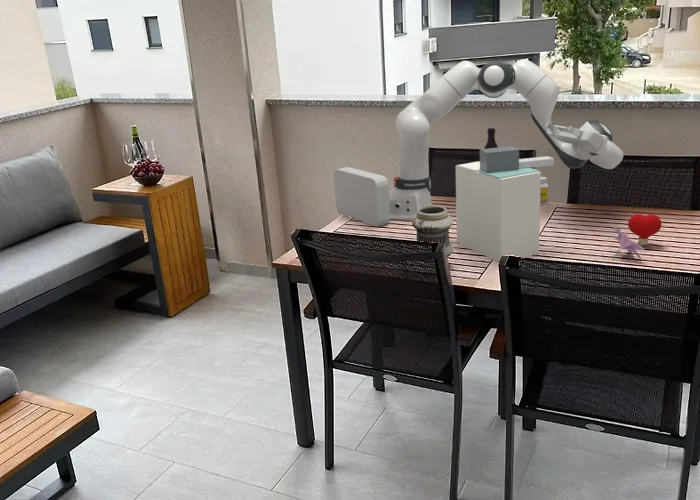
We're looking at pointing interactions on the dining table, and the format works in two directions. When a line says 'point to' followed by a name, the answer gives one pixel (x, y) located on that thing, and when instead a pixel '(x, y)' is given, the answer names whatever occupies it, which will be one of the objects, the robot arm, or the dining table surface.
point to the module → (509, 160)
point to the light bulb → (644, 226)
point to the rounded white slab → (362, 196)
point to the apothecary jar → (434, 226)
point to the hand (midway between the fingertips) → (557, 126)
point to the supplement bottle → (544, 191)
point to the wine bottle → (491, 139)
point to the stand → (498, 211)
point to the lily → (626, 243)
